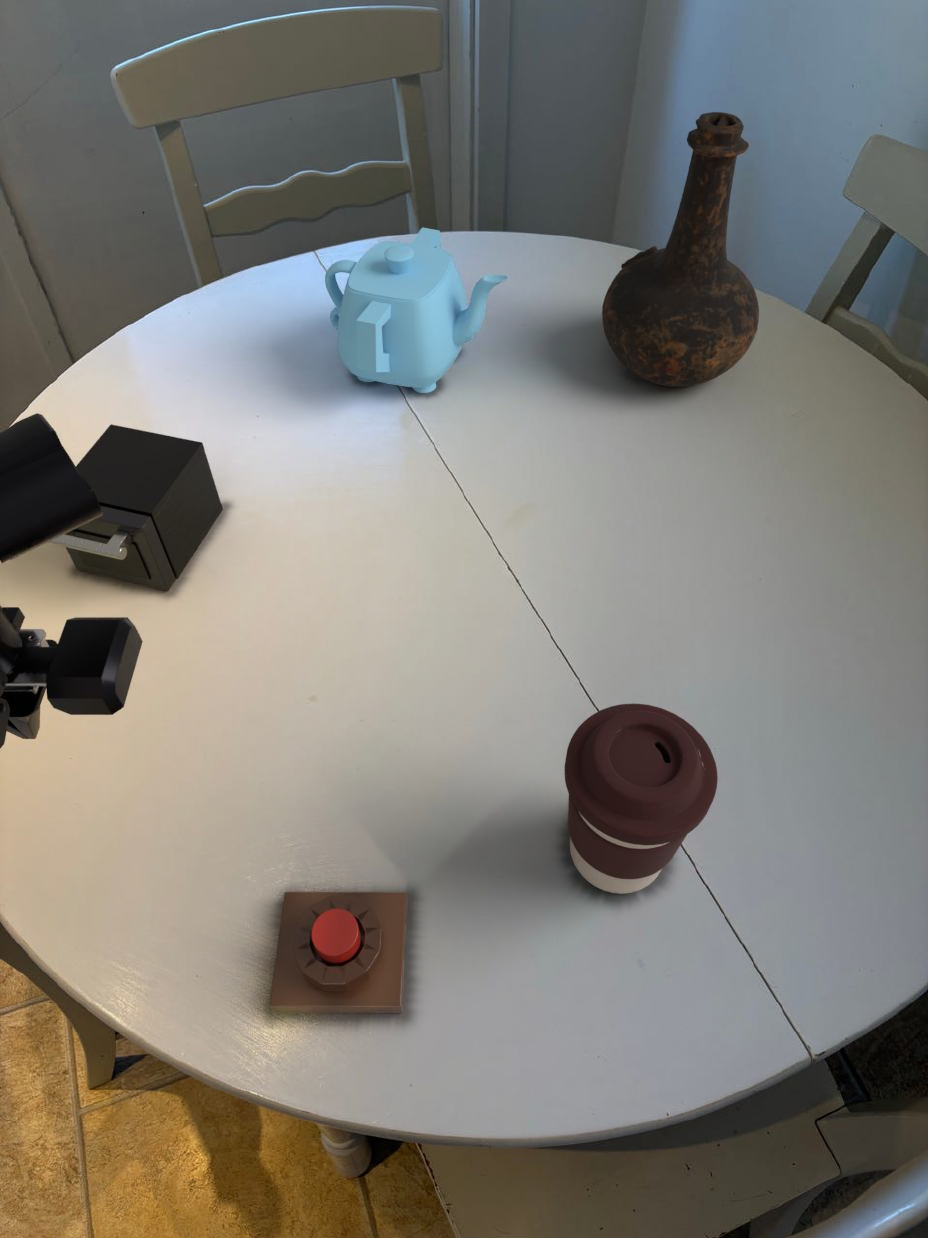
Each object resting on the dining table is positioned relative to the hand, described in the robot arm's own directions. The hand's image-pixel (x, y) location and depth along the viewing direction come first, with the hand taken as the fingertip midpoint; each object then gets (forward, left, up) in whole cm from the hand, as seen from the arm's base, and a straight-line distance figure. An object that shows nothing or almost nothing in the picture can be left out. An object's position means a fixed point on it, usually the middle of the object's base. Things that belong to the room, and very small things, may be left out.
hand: (32, 733), depth 62 cm
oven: (+11, +29, -12) cm, 33 cm away
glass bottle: (+74, +32, -12) cm, 82 cm away
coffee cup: (+37, -20, -12) cm, 44 cm away
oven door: (+6, +23, -12) cm, 27 cm away
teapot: (+46, +44, -12) cm, 65 cm away
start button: (+15, -19, -9) cm, 26 cm away
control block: (+15, -19, -12) cm, 27 cm away
